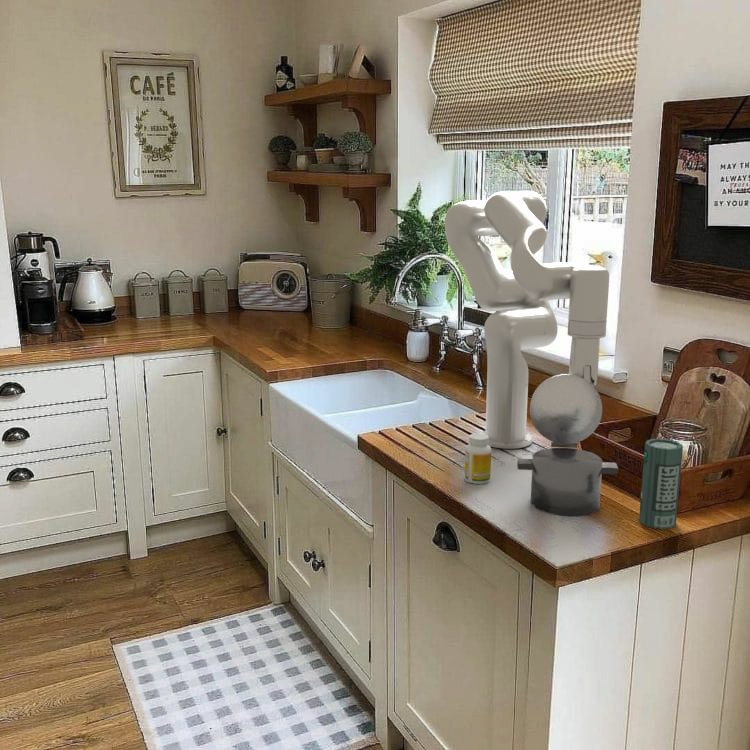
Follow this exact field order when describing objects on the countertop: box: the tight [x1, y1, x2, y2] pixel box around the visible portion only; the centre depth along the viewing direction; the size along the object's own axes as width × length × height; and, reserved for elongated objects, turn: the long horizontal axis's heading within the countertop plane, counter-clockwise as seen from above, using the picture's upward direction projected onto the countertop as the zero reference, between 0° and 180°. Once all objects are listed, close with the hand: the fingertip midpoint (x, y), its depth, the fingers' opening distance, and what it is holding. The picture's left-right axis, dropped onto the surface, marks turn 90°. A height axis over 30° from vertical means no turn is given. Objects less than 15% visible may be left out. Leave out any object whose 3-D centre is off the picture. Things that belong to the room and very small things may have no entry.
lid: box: [529, 373, 603, 449], centre depth 165 cm, size 15×14×2 cm
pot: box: [516, 447, 619, 517], centre depth 158 cm, size 13×19×9 cm
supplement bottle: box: [464, 432, 492, 485], centre depth 170 cm, size 5×5×10 cm
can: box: [638, 438, 684, 530], centre depth 149 cm, size 6×6×15 cm
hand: (581, 415), depth 171 cm, fingers closed
